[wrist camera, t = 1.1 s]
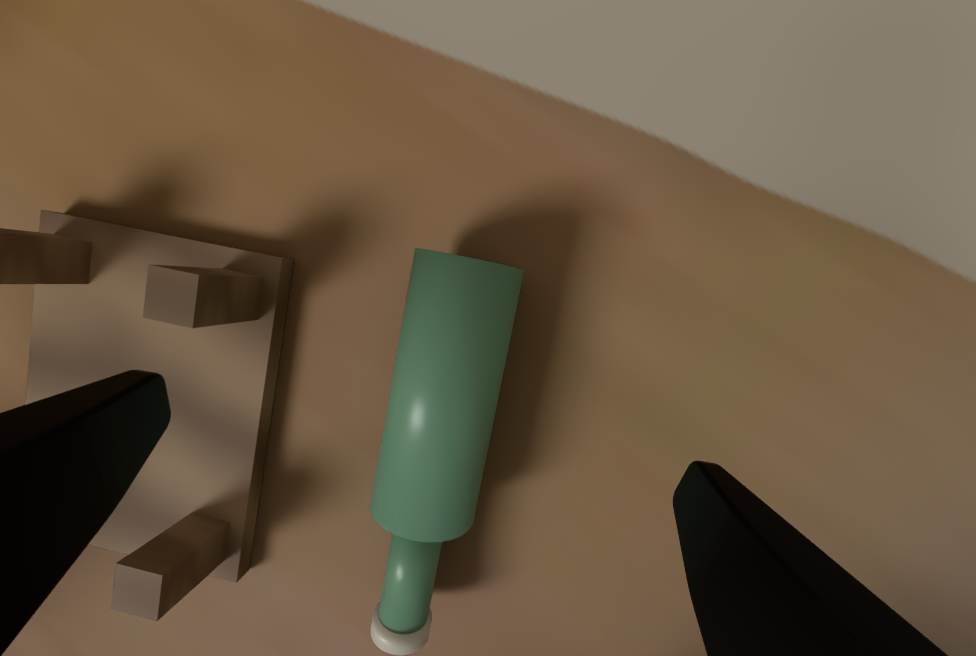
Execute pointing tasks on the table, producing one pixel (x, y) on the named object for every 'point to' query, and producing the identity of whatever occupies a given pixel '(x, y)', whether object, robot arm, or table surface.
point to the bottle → (437, 428)
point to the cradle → (188, 376)
